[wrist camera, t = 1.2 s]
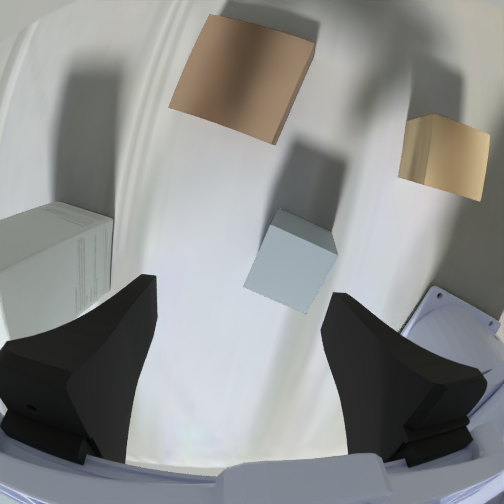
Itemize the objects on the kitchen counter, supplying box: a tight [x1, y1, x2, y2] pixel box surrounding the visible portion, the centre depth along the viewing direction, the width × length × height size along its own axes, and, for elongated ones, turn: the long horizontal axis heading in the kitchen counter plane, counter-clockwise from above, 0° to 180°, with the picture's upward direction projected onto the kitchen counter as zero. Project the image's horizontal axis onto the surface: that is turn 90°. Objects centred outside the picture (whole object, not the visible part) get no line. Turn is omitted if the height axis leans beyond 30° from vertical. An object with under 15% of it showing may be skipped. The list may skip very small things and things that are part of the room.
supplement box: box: [0, 201, 113, 350], centre depth 19 cm, size 7×7×13 cm
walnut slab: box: [168, 14, 315, 145], centre depth 17 cm, size 7×7×3 cm
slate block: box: [243, 208, 338, 314], centre depth 19 cm, size 4×4×5 cm
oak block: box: [398, 113, 490, 202], centre depth 15 cm, size 4×4×5 cm
